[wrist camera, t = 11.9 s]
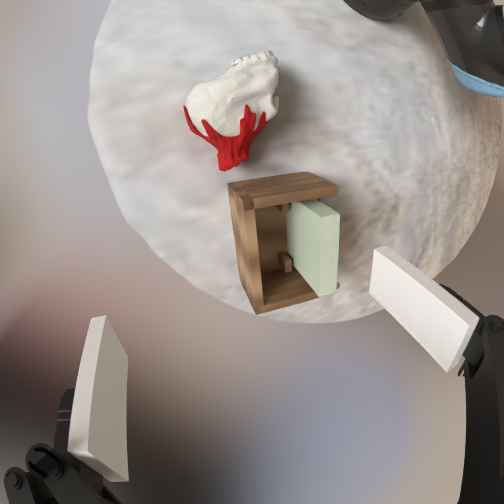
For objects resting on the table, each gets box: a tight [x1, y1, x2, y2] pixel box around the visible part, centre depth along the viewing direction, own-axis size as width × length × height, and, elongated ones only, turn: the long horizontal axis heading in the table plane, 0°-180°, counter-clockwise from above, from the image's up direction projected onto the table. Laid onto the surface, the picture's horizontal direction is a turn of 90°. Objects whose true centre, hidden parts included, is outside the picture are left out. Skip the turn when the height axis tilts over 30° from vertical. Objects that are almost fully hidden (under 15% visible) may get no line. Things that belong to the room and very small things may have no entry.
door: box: [286, 199, 340, 297], centre depth 39 cm, size 11×2×11 cm, turn 5°
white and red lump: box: [183, 50, 279, 171], centre depth 31 cm, size 9×11×15 cm
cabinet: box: [227, 172, 340, 315], centre depth 40 cm, size 16×13×9 cm
